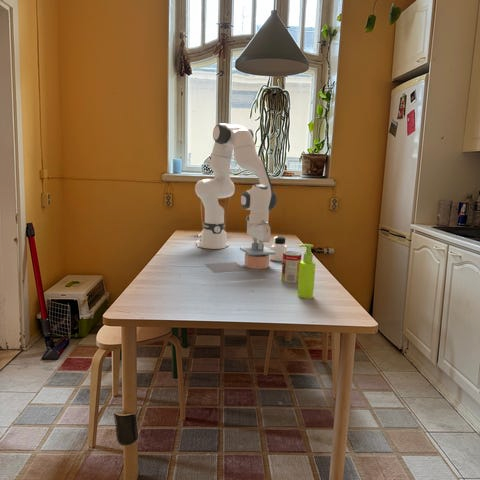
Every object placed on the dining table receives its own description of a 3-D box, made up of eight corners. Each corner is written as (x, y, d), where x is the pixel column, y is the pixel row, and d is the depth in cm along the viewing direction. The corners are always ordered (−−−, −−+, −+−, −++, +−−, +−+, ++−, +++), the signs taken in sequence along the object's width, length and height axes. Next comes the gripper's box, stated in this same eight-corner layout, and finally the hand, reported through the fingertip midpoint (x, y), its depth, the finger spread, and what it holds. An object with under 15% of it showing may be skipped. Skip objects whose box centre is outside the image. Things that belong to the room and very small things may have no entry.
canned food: (297, 278, 179) (299, 251, 176) (301, 283, 171) (303, 255, 169) (280, 277, 178) (281, 250, 176) (282, 282, 171) (284, 254, 168)
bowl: (241, 264, 199) (242, 252, 198) (262, 263, 203) (263, 251, 201) (250, 269, 189) (251, 257, 187) (271, 268, 193) (272, 256, 191)
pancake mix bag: (228, 236, 272) (230, 194, 266) (199, 235, 270) (200, 193, 265) (227, 234, 278) (229, 193, 273) (199, 233, 277) (201, 192, 271)
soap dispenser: (293, 293, 157) (296, 242, 153) (310, 293, 158) (314, 243, 154) (296, 298, 151) (300, 245, 148) (314, 298, 152) (318, 246, 148)
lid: (239, 249, 198) (240, 241, 197) (264, 248, 203) (264, 240, 202) (250, 255, 186) (250, 246, 185) (275, 254, 191) (276, 246, 190)
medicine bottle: (286, 258, 214) (287, 236, 212) (283, 261, 207) (284, 238, 205) (273, 257, 216) (274, 235, 214) (269, 260, 210) (271, 237, 207)
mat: (204, 264, 194) (204, 263, 194) (235, 263, 200) (235, 262, 200) (214, 273, 180) (214, 272, 180) (247, 271, 185) (247, 270, 185)
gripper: (274, 222, 183) (273, 252, 186) (256, 216, 202) (255, 243, 204) (262, 222, 181) (260, 253, 183) (245, 216, 199) (243, 243, 202)
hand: (257, 247), depth 194 cm, fingers closed on lid, 3 cm apart
